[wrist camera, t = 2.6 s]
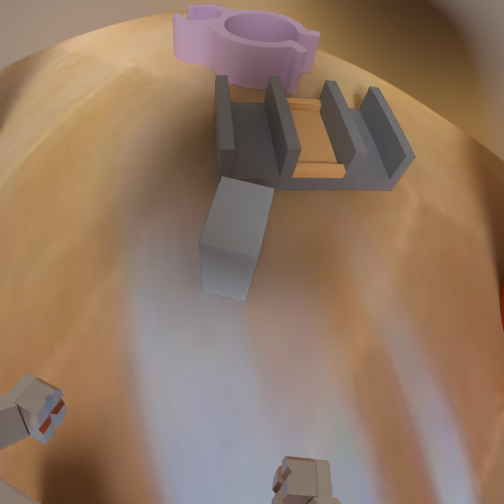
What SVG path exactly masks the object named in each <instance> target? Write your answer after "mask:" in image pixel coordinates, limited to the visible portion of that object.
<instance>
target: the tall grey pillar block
mask: <svg viewBox="0 0 504 504" xmlns="http://www.w3.org/2000/svg"><path fill="white" fill-rule="evenodd" d="M274 190H275V189H274V188H270V187H266V186H262V185H257V184H253V183H249V182H245V181H241V180H236V179H232V178H228V177H223V176H222V177H221V180H220V183H219V186H218V189H217V191H216V194H215V197H214V200H213V203H212V206H211V209H210V212H209V214H208V217H207V220H206V223H205V226H204V229H203V232H202V235H201V238H200V241H199V249H200V260H201V270H202V279H203V289H204V292H207V293H211V294H215V295H219V296H223V297H227V298H231V299H235V300H239V301H243V302H245V301H246V298H247V294H248V291H249V288H250V284H251V281H252V278H253V275H254V271H255V268H256V265H257V261H258V258H259V254H260V250H261V245H262V241H263V237H264V233H265V228H266V224H267V220H268V216H269V211H270V207H271V203H272V198H273V194H274Z"/></svg>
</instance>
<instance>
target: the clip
mask: <svg viewBox="0 0 504 504" xmlns="http://www.w3.org/2000/svg"><path fill="white" fill-rule="evenodd" d="M320 36H321V34H320V33H319V32H317V31H310V30H307V29H305V27H304V26H303V25H301V24H300V23H299V22H297V21H295V20H293V19H291V18H289V17H287V16H284V15H281V14H277V13H273V12H268V11H260V10H234V9H229V8H226V7H223V6H219V5H213V4H195V5H189V6H187V18H185V17H183V15H182V13H175V14H173V42H174V55H175V57H176V58H178V59H179V60H181V61H184V62H187V63H195V64H204V65H207V66H209V67H211V68H212V69H213V71H214V72H215V73H216V74H217V75H227V77H228V82H229V83H231V84H234V85H237V86H240V87H245V88H251V89H267V85H268V79H269V76H280V78H281V81H282V84H283V87H284V89H285V90H286V91H287V92H288V93H290V94H294V93H296V92H297V88H298V84H299V80H300V77H301V73H310V72H311V68H312V65H313V61H314V57H315V54H316V50H317V47H318V43H319V39H320Z"/></svg>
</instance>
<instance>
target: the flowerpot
mask: <svg viewBox="0 0 504 504" xmlns="http://www.w3.org/2000/svg"><path fill="white" fill-rule="evenodd" d="M500 305H501V318H502V325H503V330H504V278H503V282H502V287H501V299H500Z"/></svg>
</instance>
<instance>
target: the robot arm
mask: <svg viewBox="0 0 504 504" xmlns="http://www.w3.org/2000/svg"><path fill="white" fill-rule="evenodd" d="M62 397H63V393H62V390H61V389H59V388H57V387H55V386H53V385H51V384H50V383H48V382H46V381H44V380H42V379H40V378H38V377H36V376H35V375H33V374H31V373H26V374H25V375H24V376H23V377H22V378H21V379H20V380H19V381H18V382H17V383H16V384H15V385H14V387H13V388H12V389H11V390H10V391H9V392H8V393H7V394H6V395H5V397H3V396H2V395H1V396H0V450H1V449H3V448H6V447H8V446H10V445H12V444H14V443H16V442H18V441H20V440H22V439H25V438H27V437H29V435H30V436H32V437H34V438H35V439H37V440H39V441H41V442H43V443H45V444H48V442H49V441H50V439H51V438H52V436H53V435H54V433H55V431H54V427H56V426H59V425H60V424H61V423H62V421H63V419H64V416H65V413H66V406H65V403H64V402H63V400H62V399H61V398H62ZM272 490H273V491H274V492H275V496H274V497H273V499H272V504H341V503H340V502H339V501H338V499H337V498H333V497H332V486H331V476H330V467H329V462H328V461H327V460H316V459H310V458H300V457H291V456H285V457H284V459H283V460H282V466H280V467H278V469H277V471H276V473H275V476H274V479H273V489H272ZM0 504H41V503H40V502H38V501H36V500H35V499H33V498H31V497H29V496H28V495H26V494H25V493H23V492H21V491H20V490H18V489H17V488H15V487H13V486H12V485H10V484H9V483H7V482H6V481H4V480H3V479H2V478H0Z"/></svg>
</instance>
